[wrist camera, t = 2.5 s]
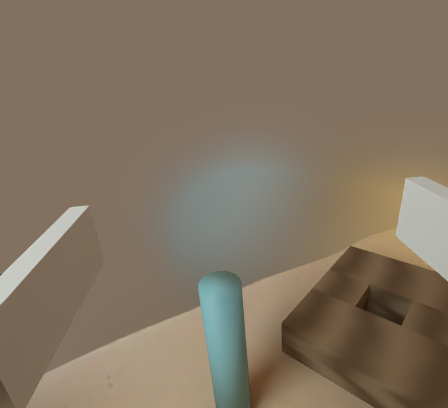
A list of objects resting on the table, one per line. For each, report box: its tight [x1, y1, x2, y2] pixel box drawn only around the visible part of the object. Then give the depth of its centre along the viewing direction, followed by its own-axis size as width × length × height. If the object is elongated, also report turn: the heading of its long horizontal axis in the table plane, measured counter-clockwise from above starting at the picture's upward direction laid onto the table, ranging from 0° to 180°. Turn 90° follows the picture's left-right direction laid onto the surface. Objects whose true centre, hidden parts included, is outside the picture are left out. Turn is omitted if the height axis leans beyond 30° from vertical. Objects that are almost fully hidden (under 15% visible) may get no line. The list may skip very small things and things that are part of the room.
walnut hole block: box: [282, 246, 448, 408], centre depth 37 cm, size 16×20×4 cm
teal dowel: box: [198, 271, 251, 408], centre depth 28 cm, size 4×4×16 cm
